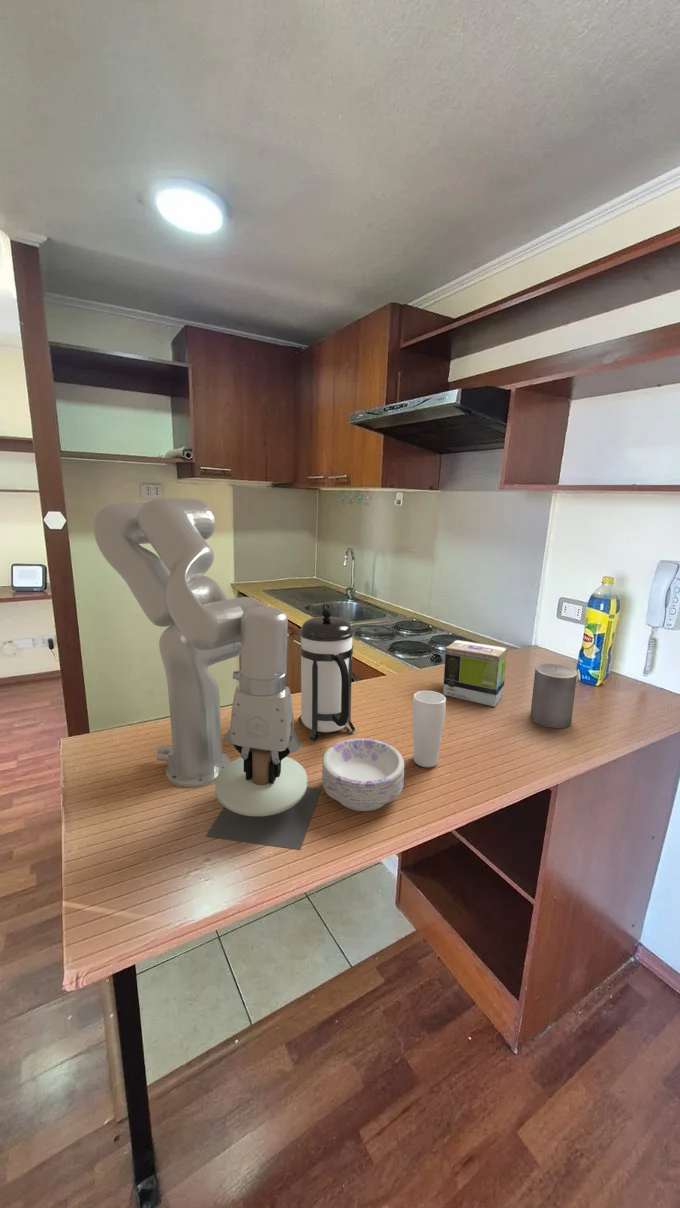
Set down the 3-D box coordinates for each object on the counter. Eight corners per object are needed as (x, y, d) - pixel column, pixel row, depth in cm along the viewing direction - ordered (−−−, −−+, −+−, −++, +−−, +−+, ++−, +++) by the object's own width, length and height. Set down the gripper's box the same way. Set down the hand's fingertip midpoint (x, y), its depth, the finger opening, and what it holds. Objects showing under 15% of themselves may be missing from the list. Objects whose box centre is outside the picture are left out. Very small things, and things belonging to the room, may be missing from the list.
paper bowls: (339, 832, 77) (340, 790, 75) (311, 781, 91) (311, 745, 89) (418, 811, 83) (420, 772, 81) (380, 766, 96) (381, 732, 95)
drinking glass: (419, 750, 103) (423, 687, 100) (447, 760, 99) (452, 696, 96) (403, 762, 98) (407, 697, 95) (432, 774, 94) (436, 706, 90)
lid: (198, 807, 75) (197, 768, 73) (236, 753, 90) (236, 720, 88) (293, 823, 73) (295, 784, 71) (315, 765, 88) (317, 731, 86)
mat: (205, 838, 75) (205, 836, 75) (241, 781, 91) (241, 779, 91) (300, 851, 73) (300, 849, 73) (321, 790, 88) (321, 788, 88)
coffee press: (280, 735, 109) (278, 612, 102) (315, 709, 123) (315, 599, 116) (345, 754, 101) (348, 622, 94) (374, 724, 115) (379, 607, 108)
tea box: (503, 695, 133) (508, 647, 130) (494, 708, 125) (499, 656, 122) (453, 684, 141) (456, 638, 138) (441, 695, 133) (445, 646, 129)
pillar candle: (544, 708, 125) (550, 656, 122) (579, 722, 117) (586, 667, 114) (522, 717, 120) (527, 663, 117) (556, 732, 112) (563, 675, 109)
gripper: (206, 684, 74) (208, 783, 79) (306, 697, 72) (302, 798, 76) (225, 667, 81) (226, 758, 86) (317, 678, 79) (312, 771, 83)
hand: (262, 776), depth 81 cm, fingers closed on lid, 3 cm apart
